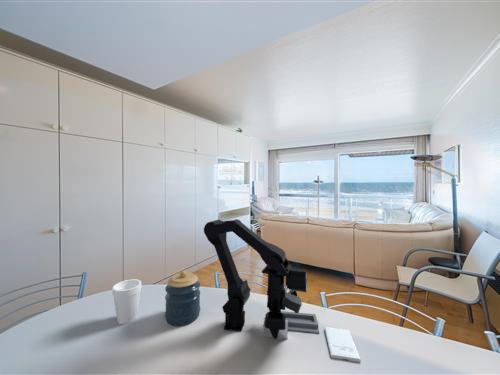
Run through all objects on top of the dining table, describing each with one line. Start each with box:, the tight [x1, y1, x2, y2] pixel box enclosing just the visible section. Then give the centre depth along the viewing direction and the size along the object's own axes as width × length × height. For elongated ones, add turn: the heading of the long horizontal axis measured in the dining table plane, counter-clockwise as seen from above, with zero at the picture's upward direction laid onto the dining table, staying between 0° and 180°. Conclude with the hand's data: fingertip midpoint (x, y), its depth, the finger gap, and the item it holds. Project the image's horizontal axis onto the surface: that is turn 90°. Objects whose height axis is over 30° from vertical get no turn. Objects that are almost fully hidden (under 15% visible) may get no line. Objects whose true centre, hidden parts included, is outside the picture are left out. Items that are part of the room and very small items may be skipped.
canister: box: [164, 270, 201, 327], centre depth 81 cm, size 13×13×18 cm
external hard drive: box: [324, 326, 362, 363], centre depth 67 cm, size 2×8×12 cm
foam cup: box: [111, 278, 142, 325], centre depth 79 cm, size 10×9×13 cm
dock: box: [281, 310, 320, 334], centre depth 78 cm, size 14×10×2 cm
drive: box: [263, 317, 289, 340], centre depth 71 cm, size 8×2×5 cm, turn 82°
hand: (275, 331), depth 71 cm, fingers open, 6 cm apart
